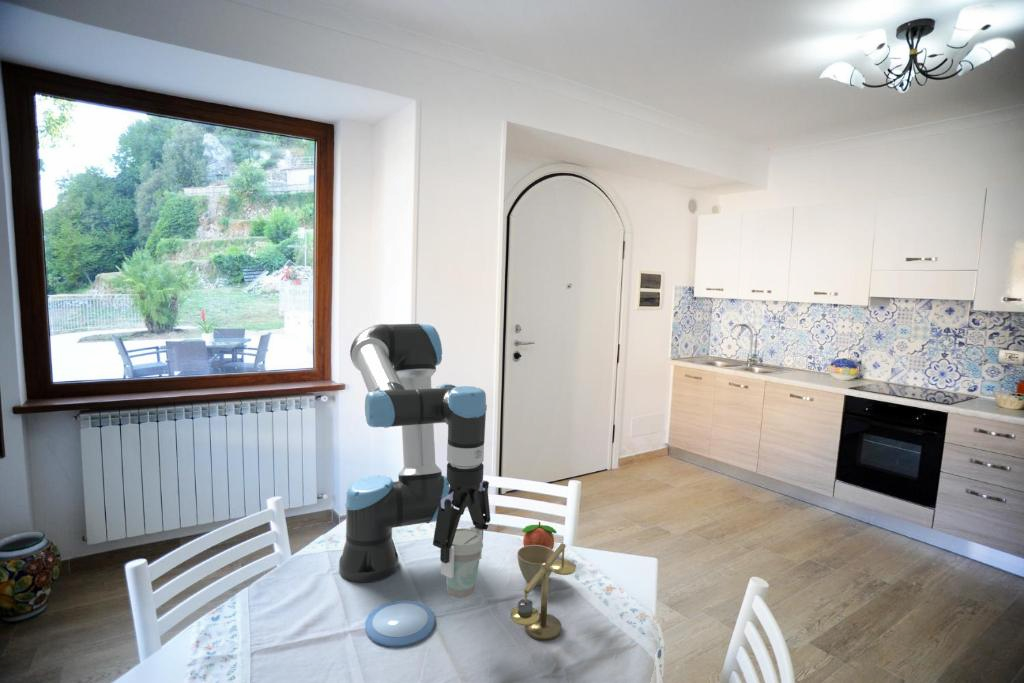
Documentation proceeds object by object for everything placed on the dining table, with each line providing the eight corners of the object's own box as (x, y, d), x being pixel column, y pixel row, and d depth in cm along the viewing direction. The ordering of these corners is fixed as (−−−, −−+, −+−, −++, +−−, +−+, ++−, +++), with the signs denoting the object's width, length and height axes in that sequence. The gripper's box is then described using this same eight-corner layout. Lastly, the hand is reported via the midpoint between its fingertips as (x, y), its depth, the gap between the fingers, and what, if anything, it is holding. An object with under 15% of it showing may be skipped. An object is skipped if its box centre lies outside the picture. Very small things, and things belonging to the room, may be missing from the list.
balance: (500, 647, 117) (502, 570, 115) (551, 600, 135) (555, 533, 133) (532, 663, 113) (535, 584, 111) (581, 612, 130) (585, 543, 128)
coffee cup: (449, 605, 112) (451, 549, 111) (435, 583, 120) (436, 531, 118) (487, 596, 116) (490, 541, 115) (471, 575, 124) (473, 524, 122)
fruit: (523, 547, 161) (524, 514, 160) (556, 550, 159) (558, 517, 158) (519, 562, 152) (521, 527, 151) (554, 565, 151) (556, 530, 150)
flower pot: (552, 593, 138) (553, 566, 137) (512, 587, 140) (513, 560, 139) (557, 573, 147) (558, 547, 147) (520, 567, 149) (521, 542, 149)
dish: (350, 628, 122) (350, 622, 121) (401, 597, 134) (401, 592, 134) (399, 656, 113) (399, 651, 113) (448, 620, 125) (448, 615, 125)
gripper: (444, 482, 104) (441, 595, 107) (510, 453, 121) (505, 551, 124) (415, 472, 108) (412, 581, 111) (482, 446, 125) (479, 541, 128)
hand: (461, 565), depth 117 cm, fingers closed on coffee cup, 8 cm apart
